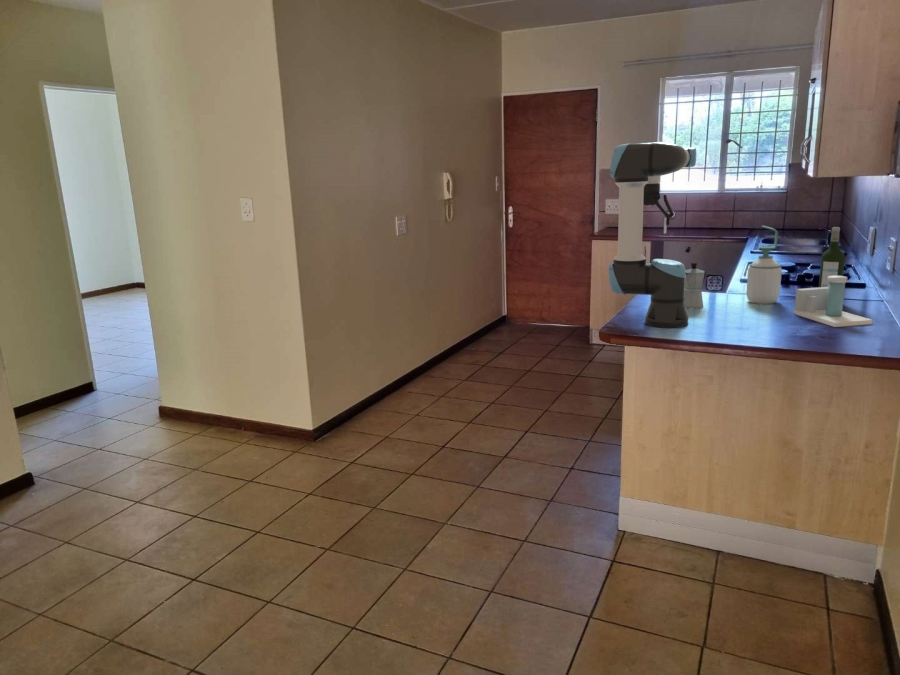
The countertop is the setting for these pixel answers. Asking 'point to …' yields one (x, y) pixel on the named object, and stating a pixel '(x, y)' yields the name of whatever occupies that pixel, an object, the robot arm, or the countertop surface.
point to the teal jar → (835, 295)
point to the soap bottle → (764, 276)
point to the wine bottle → (832, 260)
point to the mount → (823, 308)
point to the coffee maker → (693, 287)
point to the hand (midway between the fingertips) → (648, 233)
